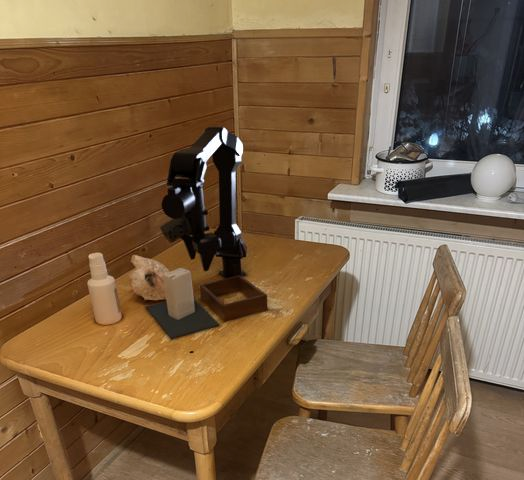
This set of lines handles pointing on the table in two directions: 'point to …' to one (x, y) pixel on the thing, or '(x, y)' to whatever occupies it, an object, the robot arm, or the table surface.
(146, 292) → the beige seashell
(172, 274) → the cosmetic box
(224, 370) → the table surface
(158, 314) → the mat
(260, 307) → the crate
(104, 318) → the spray bottle
